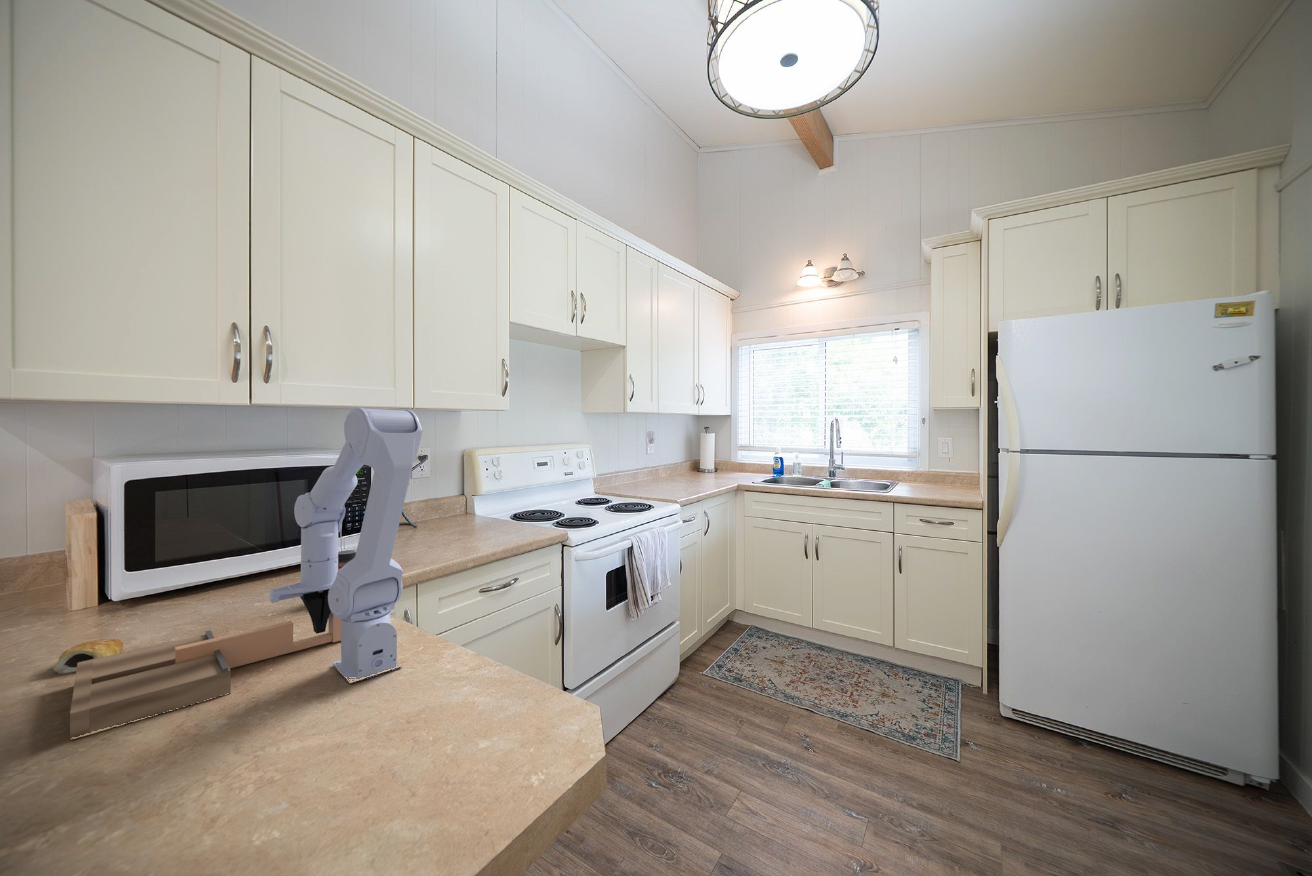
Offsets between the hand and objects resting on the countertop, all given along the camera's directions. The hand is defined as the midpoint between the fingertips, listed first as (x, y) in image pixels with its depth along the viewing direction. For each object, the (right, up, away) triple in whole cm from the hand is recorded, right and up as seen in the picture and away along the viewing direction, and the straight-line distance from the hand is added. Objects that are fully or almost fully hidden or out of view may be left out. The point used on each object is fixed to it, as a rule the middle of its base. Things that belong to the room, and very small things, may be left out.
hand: (319, 631), depth 91 cm
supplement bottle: (-11, -3, +25) cm, 27 cm away
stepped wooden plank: (-5, -2, -6) cm, 8 cm away
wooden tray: (-14, -3, -16) cm, 21 cm away
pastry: (-34, -3, -7) cm, 35 cm away
